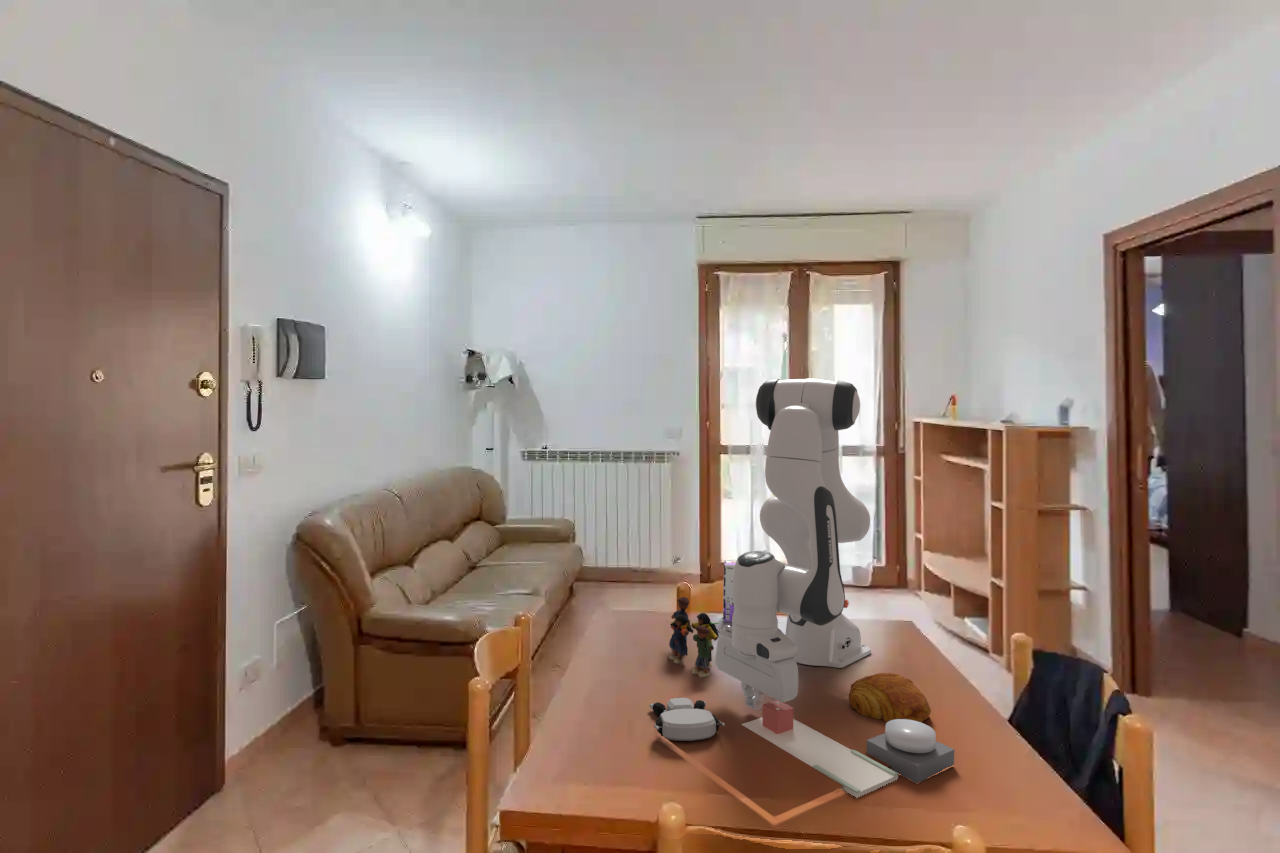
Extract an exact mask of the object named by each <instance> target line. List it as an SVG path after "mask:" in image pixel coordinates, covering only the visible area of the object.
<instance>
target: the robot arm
mask: <svg viewBox="0 0 1280 853" xmlns="http://www.w3.org/2000/svg"><path fill="white" fill-rule="evenodd" d="M755 397H756V398H755V409H756V415H757V418H758V420H759V421H760V422H761V423H762V424H763V425H765V426H766V427H767V429H768V430H769V431H770V432H769V436H768V440H767V441H768V442H767V446H766V447H767V448H766V458H765V465H764V466H765V467H764V476H765V483H766V486H767V487H768V489H769V491H770V492H771V494H773V496H771V497H768V498H767V499H766V500H765V501H764V503H763V504H762V506H761V508H760V510H759V522H760V526H761V528H762V530H763V531H764V533H765V534H766V536H768V537H769V538H771V539H772V540H773V541H774V542H775V543H776V544H777V545H778V546H779V548H780V550H781V552H782V553H783V554H784V556H785V559H786V562H787V563H785V562H781V561H779V560H777V559H776V556H775V555H774V554H773V553H772V552H768V551H764V550H753V551H752V550H751V551H747V552H744V553H742V554H740V555H739V556H737V558H736V560H735V561H736V564H735V568H734V574H733V584H732V600H733V604H734V613H733V616H732V622H731V625H728V624H724V625H722V627H721V628H720V629H719V632H720V633H719V637H718V639H717V642H716V652H715V665H716V668H717V670H719V671H720V672H722V673H724V674H727V675H728V676H730V677H732V678H734V679H735V680H737V681H740V682H741V683H740V685H741V689H742V692H743V695H744V696H745V698H744V699H745V702H744V703H745V705H746V706H748V707H749V708H751V709H753V710H755V711H759V710H762V709H763V701H764V699H765V697H766V696H768V697H770V698H773V699H774V700H775V701H776V700H778V701H780V702H782V703H783V702H784V703H787V702H790V701H793V700H795V698H797V696H798V693H799V670H798V669H799V668H798V667H799V666H798V664H801V665H808V666H815V667H817V666H818V667H830V668H837V669H842V668H845V667H846V666H849V665H850V664H853V663H855V662H856V661H858V660H861V659H862V658H864V657H867V656H868V655H870V654H872V650H871V648H870V646H868V645H866V644H864V643H862V636H861V631H860V628H859V626H857V625H856V624H855V623H854V622H853V621H851V620H850V619H849V618H848V617H847V616H846V615H844V614H843V610H844V609H847V608H848V607H849V606H850V601H849V600H848V599H846V593H845V588H844V582H843V579H842V574H841V565H840V550H839V544H846V543H853V542H861V541H862V540H863V539H864V537H866V535H868V534H867V533H869V530H870V527H871V516H870V512H869V510H868V508H867V507H866V504H864V503H863V502H862V501H861V500H859V499H858V498H857V497H855V496H854V495H853V493H851V492H850V490H848V488H847V487H846V485H845V484H844V482H843V481H844V480H843V479H842V476H841V471H840V454H839V452H840V450H839V447H840V442H839V441H840V440H839V439H840V438H839V431H843V430H847V429H849V428H851V427H852V426H853V425H855V423H856V421H857V418H858V416H859V414H860V411H861V400H860V396H859V393H858V389H857V388H856V386H854V384H853V383H850V382H847V381H843V380H837V381H834V380H828V379H821V378H794V379H793V378H792V379H782V380H781V379H779V378H775V379H770V380H765V381H764V382H763V383H762V384H761V385H760V386H759V388H758V390H757V394H756V396H755ZM777 613H782V614H785V615H787V619H786V624H785V625H786V626H785V632H783V631H782V630H781V629H780V628H779V620H778V617H777Z"/></svg>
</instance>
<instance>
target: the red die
mask: <svg viewBox="0 0 1280 853" xmlns="http://www.w3.org/2000/svg"><path fill="white" fill-rule="evenodd" d="M794 709H795V708H794V707H793V706H791V705H790V704H787V702H783V703H782V702H780V701H778V700H776V699H775V700H773V701H770V702H767V703H764V704H763V703H762V714H761V715H762V717H761V718H762V726H764V727H766V728H767V729H769V730H771V731H773V732H774V733H776V734H780V733H783V732H786V731H788V730H791V729H793V719H794Z"/></svg>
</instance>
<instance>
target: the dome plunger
mask: <svg viewBox="0 0 1280 853" xmlns="http://www.w3.org/2000/svg"><path fill="white" fill-rule="evenodd" d="M884 729H885V730H884V733H885V739H886V741H887V742H888V743H889V744H890V745H892V746H893V747H895V748H897V749H900V750H903V751H906V752H911V753H927V752H931V751H933V750H934V749H935V744H936V741H937V740H936V736H937V734H936V731H935V730H934V728H933V727H931V726H930V725H928V724H925V723H923V722H918V721H914V720H908V719H895V720H891V721H889V722H886V723H885V727H884Z"/></svg>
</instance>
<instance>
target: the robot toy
mask: <svg viewBox="0 0 1280 853" xmlns="http://www.w3.org/2000/svg"><path fill="white" fill-rule="evenodd" d="M706 705H707V703H706V701H704V700H695V703H694V702H693V700H692V699H690V698H687V697H673V698H670V699H669V700H668V701H667V703H666V706H665V704H663V703H661V702H658V701H657V702H653V703H650V704H649V706H648V707H649V708H650V709H651V710H652V712H653V713H654V714H656V715H658V717H657V718H656V721H655V723H654V724H653V727H654V728H656V731H657V732H658V733H659V735H662V736H663V738H664V739H668V740H672V741H687V742H689V741H699V740H705V739H710V738H712V737H713V736H715V733H716V732H717V731H719V729H720V725H721V726H723V727H725V722H722V721H721V720H719V719H718V717H716V716H715V714H714V713H712V712H711V711H710V710H707V709H705V708H706Z"/></svg>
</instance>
